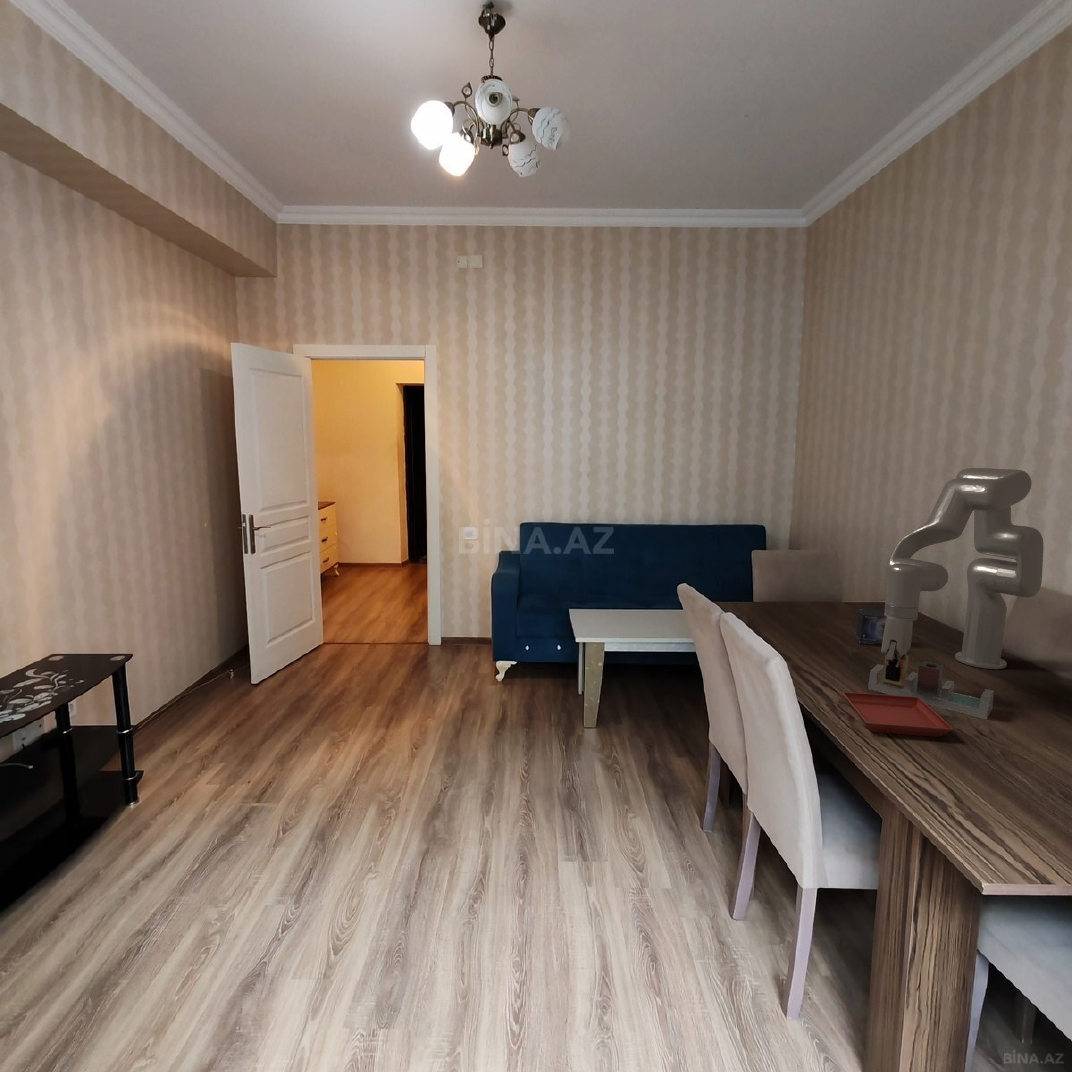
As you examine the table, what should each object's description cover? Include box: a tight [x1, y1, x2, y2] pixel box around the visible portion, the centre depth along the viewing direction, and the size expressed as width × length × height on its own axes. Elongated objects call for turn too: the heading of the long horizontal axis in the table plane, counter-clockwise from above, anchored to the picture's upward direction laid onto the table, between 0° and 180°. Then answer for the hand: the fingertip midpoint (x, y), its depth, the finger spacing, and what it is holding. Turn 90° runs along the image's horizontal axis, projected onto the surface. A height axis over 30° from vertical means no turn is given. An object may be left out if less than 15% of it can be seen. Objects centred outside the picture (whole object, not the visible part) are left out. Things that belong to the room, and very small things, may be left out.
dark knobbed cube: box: [916, 660, 944, 696], centre depth 158 cm, size 4×4×7 cm
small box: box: [854, 608, 887, 647], centre depth 201 cm, size 11×6×10 cm, turn 76°
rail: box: [867, 663, 995, 720], centre depth 158 cm, size 8×26×5 cm, turn 46°
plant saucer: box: [842, 691, 954, 738], centre depth 146 cm, size 18×18×3 cm
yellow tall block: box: [883, 653, 910, 686], centre depth 163 cm, size 4×4×7 cm
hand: (894, 676), depth 164 cm, fingers closed on yellow tall block, 4 cm apart
